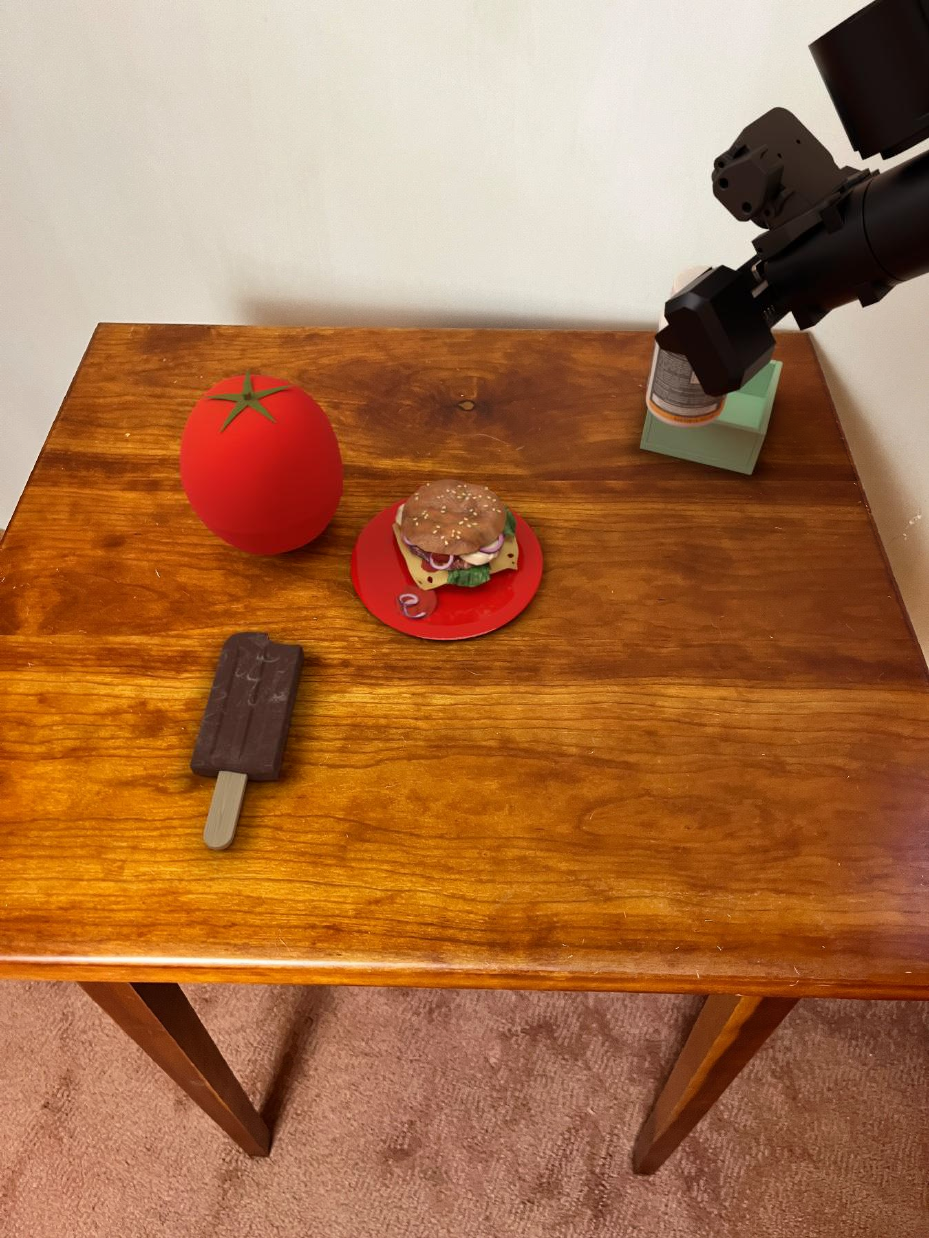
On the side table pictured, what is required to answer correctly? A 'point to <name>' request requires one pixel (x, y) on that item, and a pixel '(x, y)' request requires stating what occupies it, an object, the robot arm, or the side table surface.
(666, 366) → the pill bottle
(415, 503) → the hamburger
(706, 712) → the side table surface
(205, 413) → the tomato
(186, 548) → the side table surface
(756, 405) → the green storage bin
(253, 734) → the ice cream bar
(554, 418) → the side table surface
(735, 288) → the robot arm
